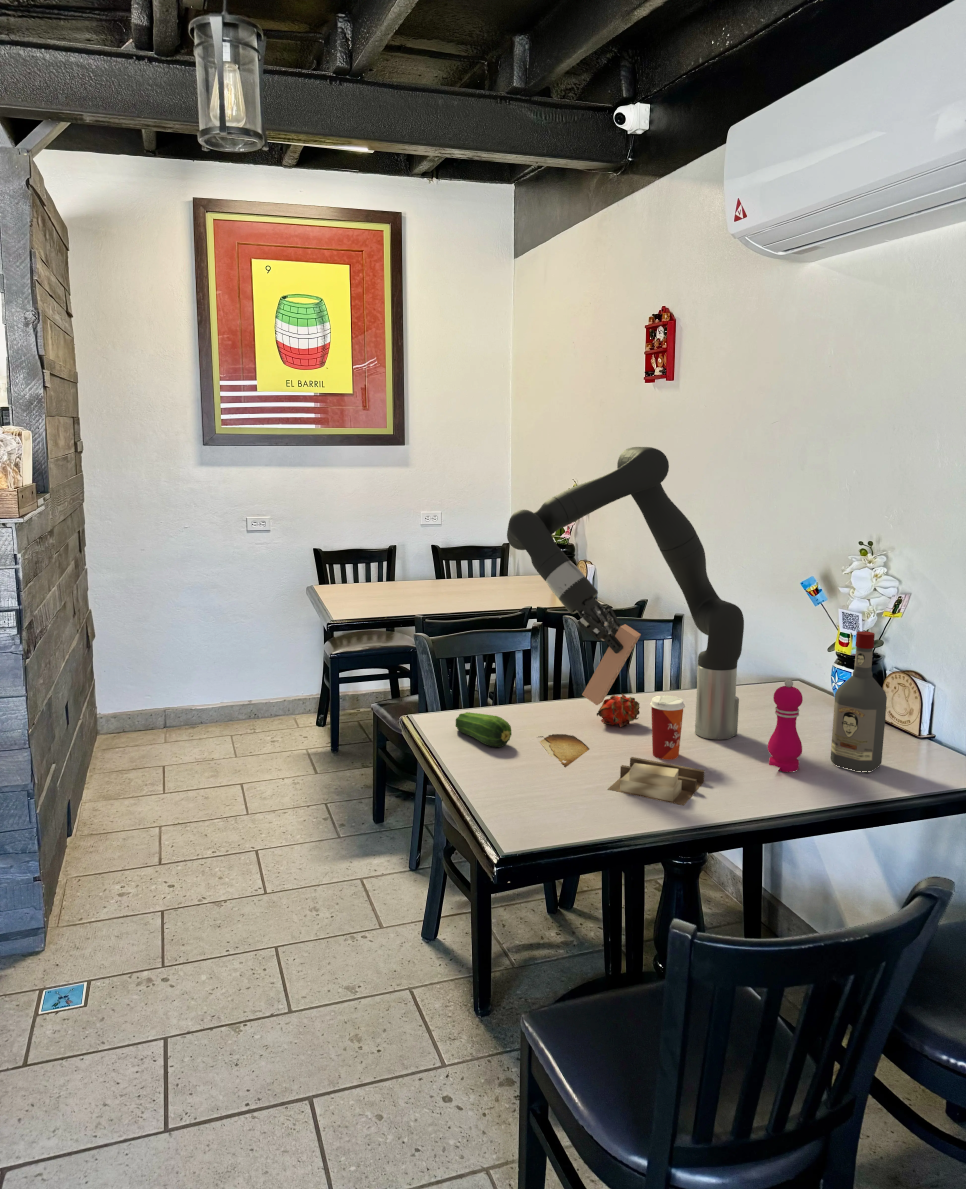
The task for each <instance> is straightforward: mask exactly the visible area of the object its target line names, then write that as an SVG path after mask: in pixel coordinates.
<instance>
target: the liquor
mask: <svg viewBox="0 0 966 1189" xmlns="http://www.w3.org/2000/svg"><path fill="white" fill-rule="evenodd" d="M875 634H876V633H875V632H872V631H864V630H862V631H857V632H856V635H855V654H854V655H855V658H854V667H853V668H854V669H853V671H852V675H851V676H850V677H849V678H847V680H845V682H843V683H842V684H841V685H840V686H839V687H837V689H836V691H835V694H834V704H833V719H832V730H831V731H832V734H831V748H830V760H831V762H833V763H834V764H835V765H837V766H840V767H844V768H848V769H852V770H855V771H861V772H862V771H867V772H868V771H872V770H873V771H874V769H875V768H876V769H878V768H879V767H880V766H881V765H882V761H883V760H882V759H883V750H884V736H885V726H886V725H885V724H886V716H887V715H886V714H887V713H886V712H887V700H888V697H887V694H886V692H885V690H884V689H883V688H882V687H881V685H880V684H879V683H878V681H877V680H876V679H875V678H874V676H873V671H872V666H873V665H872V664H873V650H874V648H875V636H876V635H875ZM833 763H832V764H833ZM834 764H833V765H834ZM835 765H834V766H835ZM878 766H879V767H878ZM877 767H878V768H877ZM876 769H875V770H876ZM873 771H872V772H873Z"/></svg>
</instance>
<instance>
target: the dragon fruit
mask: <svg viewBox="0 0 966 1189" xmlns="http://www.w3.org/2000/svg"><path fill="white" fill-rule="evenodd" d="M620 695H621V696H619V695H615V694H613V695H610V697H609V698H606V699H605V698H604V700H603V702H602V703H601V704H602V705H601V706H600V707H599V710H598V711H597V712H596V717H598V716H599V717H600V718H601V720H600V722H601V723H603V725H609V726H615V725H619V728H623V727H624V726H627V725H630V722H634V721H636V720H639V718H640V717H639V716H638V715H640V708H641V706H640V703H639V702H638V701H637V700H636V698H635V697H633V696H629V697H627V696H626V695H625V694H624V693H621V694H620Z"/></svg>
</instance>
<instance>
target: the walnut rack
mask: <svg viewBox="0 0 966 1189" xmlns="http://www.w3.org/2000/svg"><path fill="white" fill-rule="evenodd" d="M634 763H638V764H646V765H653V766H660V767H668V768H675V769H678V780H681V781H682V788H681V793H680V794H679V795H678V796H677V797H676V798H675V799H674V800H673V802H672V801H668V800H663V799H658V798H653V797H648V796H644V795H639V794H634V793H629V792H624V791H620V779H621V778H622V777H624V776H625V775H626V774H627V773H628V772H629V771H630V769H631V768H632V766H633V765H634ZM705 772H706V771H705V769H699V768H694V767H688V766H682V765H677V764H674V763H673V764H672V763H667V762H664V761H663V762H662V761H658V760H657V761H656V760H650V759H646V758H640V757H636V756H635V757H634V756H630V757H629V765H624V764H621V765H620V770H619V773H620V775H619V776H620V777H619V778H618V779H617V780H616V781H615V782H614V783H613V784H611V785H610V786H609V787H608V788H607V791H612V792H618V793H621V794H627V795H631V796H635V797H642V798H646V799H650V800H656V801H660V802H665V803H670V804H674V805H679V806H685V805H686V803H688V801H689V800H690V799H691V798H692V797H693V796H694V794H695V793H696V792H697V791H698V790H699V788H700V787H702V785H703V784H704V783H705Z"/></svg>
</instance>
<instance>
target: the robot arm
mask: <svg viewBox="0 0 966 1189" xmlns="http://www.w3.org/2000/svg"><path fill="white" fill-rule="evenodd" d="M616 463H617V465H616V466H617V467H616V469H615V470H613V471H611V472H609V473H606V474H604V475H603V476H599V477H597V478H595V479H591V480H589V481H587V482H584V483H579V484H577V485H575V486H572V487H570V488H567V489H566V490H564V491H562V492H560V493H558V494H556V495H554V496H552V497H551V498H550V497H549V499H547V500H546V501H544V502H543V503H542V505H541V506H540V508H539V509H537V510H536V511H531V510H528V509H519V510H517V511H514V513H513V514H512V515H511V516H510V518H509V520H508V525H507V529H506V530H507V531H506V538H507V542H508V544H509V545H510V547H512V548H513V549H515V550H519V551H525V552H526V553H527V555H528V556H529V557H530V561H531V564H532V566H533V567H534V570H535V571H537V573H538V574H539V576H541V578H542V579H543V581H544V582H545V583H546V584H547V585H548V587H549V589H550V591H551V592H552V593H553V595H554V596H555V597H556V598H557V599H558V600H559V601H560V602H561V604H562V605H563V607H565V608H566V610H567V611H568V612H569V613H570V614H571V615H575V614H576V613H578V615H579V617H580V619H579V620H578V621H577V624H578V625H579V626H580V627H581V628H582V629H583V630H585V632H586V633H588V634H589V635H591V636H592V637H593V638H594V639H596V640H597V641H599V640H601V641H603V642H605V643H606V644H607V645H608V647H610V648H611V649H612V650H613V651H614V653H616V654H617V653H619V652H620V651H621V650H622V649H623V645H622V644H621V643H620V642H619V640H618V639H617V638H616V637H615V635H616V633H617V631H618V630H619V628H620V626H622V624H621V622H620V621H619V619H618V617H617V616H616V613H615V612H614V610H613V608H612V607H611V605H609V604H607V605H605V606H604V605H603V604H602V603H601V602H600V601H598V600H597V599H596V597H597V596H598V595H599V592H598V590H597V588H596V587H595V586H594V585H593V584H592V583H591V581H590V580H589V579H588V578H587V576H585V574H584V573H583V572H582V570H581V569H580V568H579V567H578V566H577V565H575V564H574V563H573V561H571V560H570V558H569V557H568V556H567V555H566V553H565V552H564V551H563V550H562V549H561V548H560V547H559V546H558V544H557V543H556V541H555V539H554V537H553V536H552V535H554V534H555V533H556V532H558V531H559V530H560V529H563V528H565V527H567V526H568V525H571V524H573V523H574V522H576V521H578V520H580V519H582V518H584V517H586V516H588V515H589V514H591V513H593V512H595V511H597V510H599V509H601V508H603V507H605V506H607V505H609V504H612V503H613V502H616V501H618V500H621V499H622V498H626V497H628V496H631V498H632V499H633V500H634V502H635V503H636V505H637V507H638V508H639V510H640V512H641V514H642V516H643V518H644V521H645V522H646V524H647V527H648V528H649V530H650V532H651V535H652V536H653V538H654V541H655V543H656V545H657V548H658V549H659V551H660V553H661V555H662V557H663V559H664V561H665V563H666V564H667V566H668V567H669V569H670V573H672V575H673V577H674V579H675V582H676V583H677V585H678V587H679V588H680V590H681V592H682V594H683V596H684V598H685V601H686V603H687V606H688V609H689V612H690V615H691V618H692V620H693V622H694V625H695V626H696V628H697V629H698V630H699V631H700V632H701V633H702V634H704V635H706V636H707V645H706V649H705V650H703V651H701V652H699V654H698V656H697V673H696V674H697V675H696V676H697V677H696V697H695V698H696V701H695V720H694V721H695V723H694V734H695V735H697V736H699V737H700V738H704V739H709V740H728V739H731V738H733V737H734V736H738V729H739V709H740V708H739V706H740V705H739V704H740V698H739V696H737V676H738V675H737V674H738V661H739V659H740V658H741V655H742V650H743V640H744V632H745V631H744V630H745V619H744V614H743V611H742V609H741V608H740V607H739V606H738V605H736V604H734V603H732V602H729V601H726V600H723V599H722V598H720V596H719V595H718V594H717V592H716V590H715V589H714V587H713V585H712V583H711V581H710V578H709V576H708V572H707V561H706V552H705V548H704V545H703V544H702V541H701V539H700V538H699V536H698V534H697V531H696V529H695V528H694V525H693V523H691V521H690V520H689V519H688V517H686V515H685V514H684V513H683V511H681V510H680V508H679V507H678V506H677V505H676V504H675V503H674V502H673V501H672V500H671V498H670V497H669V496H668V494H667V493H666V491H665V490H664V487H663V486H662V482H664V481H665V479H666V478H667V476H668V474H669V471H670V470H669V469H670V465H669V464H670V463H669V459H668V457H667V455H666V454H665V453H664V452H663V451H662V450H660V449H659V448H655V447H650V446H633V447H632V446H631V447H628V448H626V449H625V450H623V451H622V452H621V454H620V455H619V457H618V460H617V462H616Z"/></svg>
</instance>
